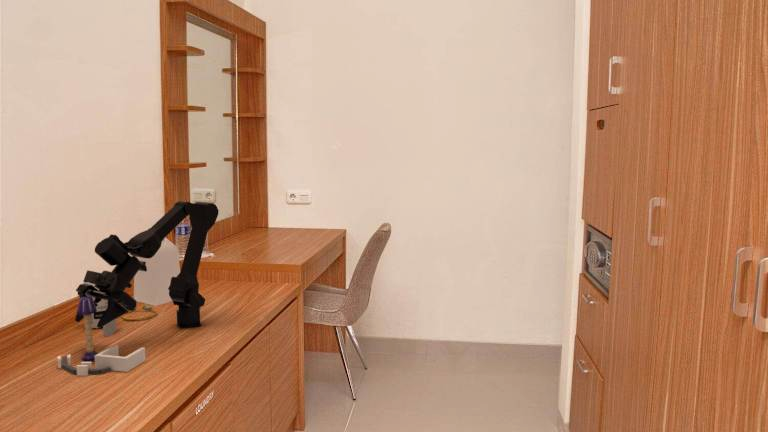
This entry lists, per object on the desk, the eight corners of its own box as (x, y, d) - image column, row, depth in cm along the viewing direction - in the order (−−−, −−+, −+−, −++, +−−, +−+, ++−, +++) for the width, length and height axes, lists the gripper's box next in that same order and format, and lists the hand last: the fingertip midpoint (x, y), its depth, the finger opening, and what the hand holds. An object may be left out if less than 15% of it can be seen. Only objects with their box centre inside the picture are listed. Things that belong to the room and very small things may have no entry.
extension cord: (168, 309, 207) (168, 303, 206) (147, 323, 191) (147, 317, 191) (133, 308, 207) (133, 302, 207) (110, 322, 192) (110, 316, 191)
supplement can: (91, 321, 191) (88, 275, 189) (118, 320, 191) (115, 275, 190) (80, 329, 183) (78, 281, 181) (108, 329, 183) (106, 281, 181)
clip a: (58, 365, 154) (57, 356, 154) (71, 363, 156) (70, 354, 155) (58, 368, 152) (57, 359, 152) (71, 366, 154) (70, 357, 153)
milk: (182, 298, 219) (180, 228, 215) (156, 305, 209) (153, 232, 205) (160, 293, 225) (157, 225, 221) (133, 300, 215) (130, 229, 212)
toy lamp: (78, 362, 156) (74, 300, 154) (81, 356, 161) (78, 295, 159) (98, 360, 158) (94, 299, 156) (101, 354, 162) (98, 294, 160)
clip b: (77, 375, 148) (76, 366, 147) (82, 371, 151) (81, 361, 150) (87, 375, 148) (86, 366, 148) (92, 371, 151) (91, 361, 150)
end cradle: (115, 357, 160) (114, 344, 160) (145, 360, 158) (145, 347, 158) (95, 368, 152) (94, 355, 152) (127, 371, 151) (126, 358, 150)
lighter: (108, 336, 177) (107, 310, 176) (103, 336, 177) (101, 309, 176) (122, 328, 184) (121, 303, 183) (117, 328, 184) (116, 303, 183)
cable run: (65, 359, 158) (65, 355, 158) (111, 371, 151) (111, 367, 151) (45, 366, 153) (45, 362, 153) (92, 379, 146) (91, 375, 146)
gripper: (81, 254, 165) (43, 302, 157) (125, 262, 156) (88, 313, 148) (107, 277, 173) (73, 324, 165) (151, 286, 164) (117, 336, 155)
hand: (87, 324), depth 158 cm, fingers open, 9 cm apart
